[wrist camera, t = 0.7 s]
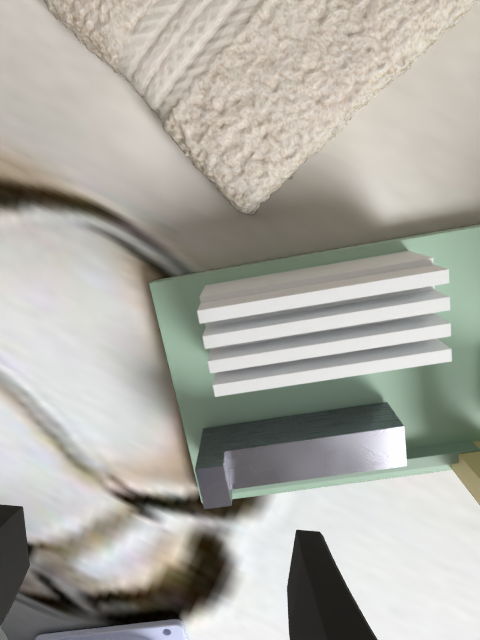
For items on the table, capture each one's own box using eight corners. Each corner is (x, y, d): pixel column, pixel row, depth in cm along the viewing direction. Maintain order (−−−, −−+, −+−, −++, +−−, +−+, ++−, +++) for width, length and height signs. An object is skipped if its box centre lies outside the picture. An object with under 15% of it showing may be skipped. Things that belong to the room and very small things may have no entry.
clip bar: (210, 462, 20) (204, 509, 17) (203, 428, 20) (194, 469, 17) (389, 437, 20) (416, 481, 17) (387, 401, 19) (413, 439, 16)
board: (203, 492, 22) (192, 561, 18) (152, 280, 19) (125, 302, 14) (502, 452, 21) (566, 515, 17) (504, 219, 18) (584, 224, 13)
